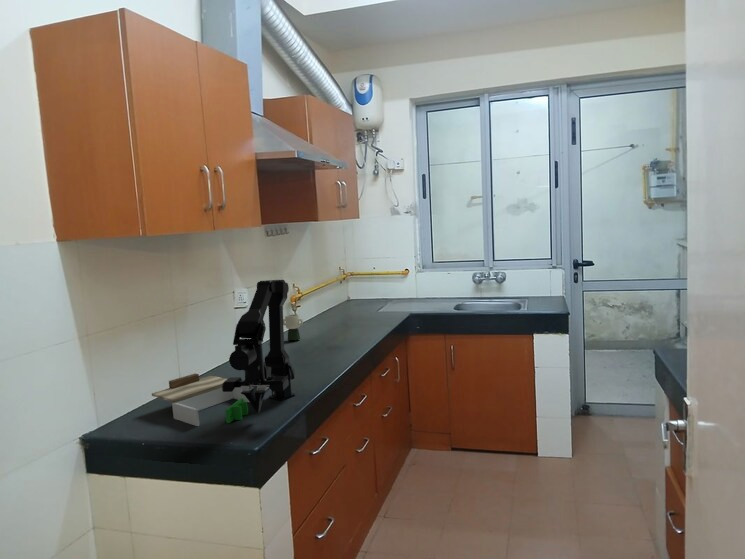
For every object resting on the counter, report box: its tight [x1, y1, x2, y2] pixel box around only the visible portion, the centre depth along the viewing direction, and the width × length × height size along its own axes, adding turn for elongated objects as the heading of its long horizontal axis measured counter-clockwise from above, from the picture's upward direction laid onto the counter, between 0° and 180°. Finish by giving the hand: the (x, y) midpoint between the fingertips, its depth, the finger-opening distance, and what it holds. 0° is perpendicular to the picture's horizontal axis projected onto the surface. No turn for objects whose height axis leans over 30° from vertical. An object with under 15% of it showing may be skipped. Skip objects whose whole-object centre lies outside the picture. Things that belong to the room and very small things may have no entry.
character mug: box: [283, 313, 304, 341], centre depth 268 cm, size 11×7×13 cm, turn 74°
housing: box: [171, 387, 251, 427], centre depth 170 cm, size 13×23×5 cm, turn 141°
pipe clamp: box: [225, 398, 249, 424], centre depth 163 cm, size 10×4×4 cm, turn 169°
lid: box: [151, 373, 228, 403], centre depth 177 cm, size 13×23×3 cm, turn 141°
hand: (257, 412), depth 158 cm, fingers closed
